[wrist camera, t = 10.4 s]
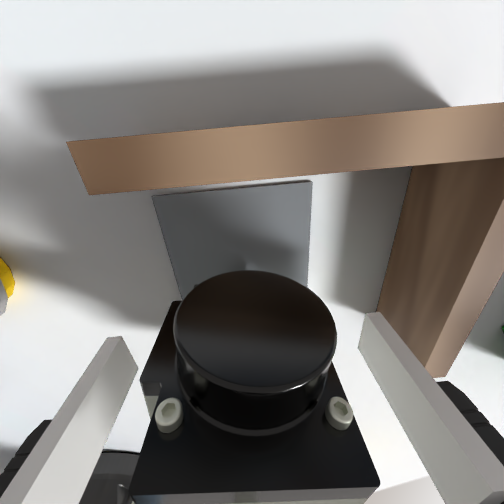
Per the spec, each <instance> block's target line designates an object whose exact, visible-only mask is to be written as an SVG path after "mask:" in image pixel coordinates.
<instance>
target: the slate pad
mask: <svg viewBox="0 0 504 504" xmlns="http://www.w3.org/2000/svg"><path fill="white" fill-rule="evenodd" d="M152 199H153V203H154V206H155V210H156V213H157V216H158V220H159V223H160V226H161V230H162V233H163V236H164V240H165V243H166V247H167V250H168V253H169V257H170V260H171V263H172V267H173V270H174V274H175V277H176V280H177V284H178V287H179V290H180V294H181V297H182V300H183V299H184V297H185V296H186V295H187V294H188V293H189V292H190V291H191V290H192V289H193V288H194V285H196V284H200V283H201V282H203V281H205V280H207V279H209V278H211V277H213V276H216V275H219V274H222V273H227V272H231V271H239V270H259V271H266V272H272V273H276V274H279V275H283V276H286V277H288V278H291V279H293V280H295V281H297V282H299V283H301V284H302V285H304V286H306V287H307V281H308V261H309V241H310V221H311V201H312V181H310V182H300V183H289V184H278V185H267V186H256V187H245V188H234V189H223V190H212V191H201V192H190V193H179V194H168V195H157V196H152Z"/></svg>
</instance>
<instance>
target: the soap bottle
mask: <svg viewBox="0 0 504 504" xmlns="http://www.w3.org/2000/svg"><path fill="white" fill-rule="evenodd" d="M14 285H15V281H14V278H13V276H12V273H11V270H10V268H9V267H8V266H7V265H6V263H5V262H4V261H3V260H2V259H1V258H0V315H2V314H3V313H4V312H5V310H6V305H7V300H8V298H9V297H10V296H11V295H12V294H13V290H14Z"/></svg>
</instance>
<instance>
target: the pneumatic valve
mask: <svg viewBox="0 0 504 504" xmlns="http://www.w3.org/2000/svg"><path fill="white" fill-rule="evenodd" d="M336 344H337V332H336V327H335V322H334V320H333V317H332V315H331V313H330V311H329V309H328V308H327V306H326V305H325V304H324V302H323V301H322V300H321V299H320V298H319V297H318V296H317V295H316V294H315V293H314V292H312V291H311V290H310V289H309V288H307V287H306V286H304V285H302V284H301V283H299V282H297V281H295V280H293V279H291V278H288V277H286V276H283V275H279V274H276V273H272V272H266V271H259V270H239V271H231V272H227V273H222V274H219V275H216V276H213V277H211V278H209V279H207V280H205V281H203V282H201V283H200V284H196V285H194V288H193V289H192V290H191V291H190V292H189V293H188V294H187V295H186V296H185V297H184V299H183V300H182V301H173V302H172V304H171V306H170V309H169V311H168V313H167V316H166V318H165V320H164V323H163V325H162V327H161V330H160V332H159V334H158V337H157V339H156V342H155V344H154V346H153V349H152V351H151V353H150V356H149V358H148V360H147V363H146V365H145V367H144V370H143V372H142V375H141V377H140V383H141V387H142V391H143V394H144V398H145V401H146V405H147V408H148V412H149V416H150V419H151V421H150V424H149V427H148V430H147V433H146V436H145V440H144V443H143V446H142V449H141V452H140V455H139V458H138V461H137V464H136V467H135V471H134V474H133V477H132V480H131V483H130V486H129V494H130V496H131V498H132V500H133V502H132V504H364V503H365V501H366V500H367V499H368V498H369V497H370V496H371V495H372V494H373V492H374V491H375V490H376V489H377V488H378V487H379V486H380V479H379V477H378V474H377V472H376V469H375V467H374V464H373V462H372V459H371V457H370V454H369V452H368V449H367V447H366V444H365V442H364V440H363V437H362V435H361V432H360V430H359V427H358V425H357V422H356V420H355V417H354V415H353V411H352V408H351V406H350V405H349V402H348V400H347V397H346V395H345V393H344V390H343V388H342V385H341V383H340V380H339V378H338V375H337V373H336V370H335V368H334V365H333V363H332V358H333V356H334V353H335V349H336Z"/></svg>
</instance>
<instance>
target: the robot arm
mask: <svg viewBox="0 0 504 504" xmlns="http://www.w3.org/2000/svg"><path fill="white" fill-rule="evenodd" d="M358 349H359V351H360V352H361V354H362V356H363V358H364V360H365V361H366V363H367V365H368V367H369V368H370V370H371V372H372V374H373V376H374V377H375V379H376V381H377V383H378V384H379V386H380V388H381V390H382V392H383V393H384V395H385V397H386V399H387V401H388V402H389V404H390V406H391V408H392V409H393V411H394V413H395V415H396V417H397V418H398V420H399V422H400V424H401V426H402V427H403V429H404V431H405V433H406V434H407V436H408V438H409V440H410V442H411V443H412V445H413V447H414V449H415V450H416V452H417V454H418V456H419V458H420V459H421V461H422V463H423V465H424V467H425V468H426V470H427V472H428V474H429V475H430V477H431V479H432V481H433V483H434V484H435V486H436V488H437V490H438V491H439V493H440V495H441V497H442V498H443V500H444V502H445V504H504V438H503V437H502V436H501V435H500V434H499V432H498V431H497V430H496V429H495V428H494V427H493V426H492V425H490V423H489V421H488V420H487V419H486V418H485V416H484V415H483V414H482V413H481V412H479V411H478V408H477V407H476V406H475V405H474V404H473V403H472V402H471V400H470V399H469V398H468V397H467V396H466V395H465V394H464V393H463V392H462V391H461V390H459V389H458V388H457V387H455V386H454V385H453V384H451V383H450V382H449V381H442V382H436V381H435V380H434V379H433V378H432V376H431V375H430V374H429V373H428V371H427V370H426V369H425V368H424V366H423V365H422V364H421V363H420V361H419V360H418V359H417V358H416V356H415V355H414V354H413V353H412V351H411V350H410V349H409V348H408V346H407V345H406V344H405V343H404V341H403V340H402V339H401V338H400V336H399V335H398V334H397V333H396V332H395V330H394V329H393V328H392V327H391V325H390V324H389V323H388V322H387V320H386V319H385V318H384V317H383V315H382V314H381V313H380V312H372V313H365V318H364V322H363V327H362V331H361V336H360V340H359V345H358ZM137 371H138V367H137V365H136V363H135V361H134V359H133V357H132V355H131V353H130V351H129V349H128V347H127V345H126V344H125V342H124V340H123V338H122V336H118V337H108V338H107V339H106V340H105V342H104V343H103V345H102V346H101V348H100V349H99V351H98V352H97V354H96V355H95V357H94V358H93V360H92V361H91V363H90V364H89V366H88V367H87V369H86V370H85V372H84V373H83V375H82V376H81V378H80V379H79V381H78V382H77V384H76V385H75V387H74V388H73V390H72V391H71V393H70V394H69V396H68V397H67V399H66V400H65V402H64V403H63V405H62V406H61V408H60V409H59V411H58V412H57V414H56V415H55V417H54V418H53V419H52V420H44V421H43V422H42V423H41V424H40V425H39V426H38V427H37V428H36V429H35V430H34V431H33V432H32V433H31V434H30V435H29V436H28V437H27V438H26V440H25V441H24V443H23V444H22V445H21V447H20V448H19V450H18V451H17V452H16V454H15V457H14V458H12V459H11V461H10V462H9V464H8V465H7V467H6V468H5V469H4V470H5V471H4V473H2V474H1V475H0V504H132V502H133V500H132V498H131V496H130V494H129V486H130V483H131V480H132V477H133V474H134V471H135V467H136V464H137V461H138V458H139V455H135V454H127V453H101V452H102V450H103V448H104V445H105V443H106V441H107V439H108V436H109V434H110V432H111V429H112V427H113V425H114V423H115V420H116V418H117V416H118V414H119V411H120V409H121V407H122V405H123V402H124V400H125V398H126V396H127V393H128V391H129V389H130V387H131V384H132V382H133V380H134V378H135V375H136V373H137Z"/></svg>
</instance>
